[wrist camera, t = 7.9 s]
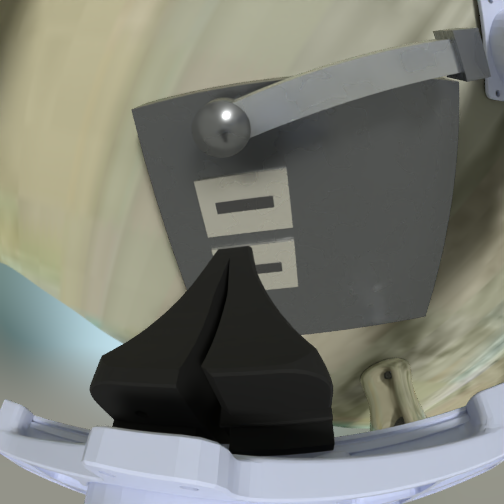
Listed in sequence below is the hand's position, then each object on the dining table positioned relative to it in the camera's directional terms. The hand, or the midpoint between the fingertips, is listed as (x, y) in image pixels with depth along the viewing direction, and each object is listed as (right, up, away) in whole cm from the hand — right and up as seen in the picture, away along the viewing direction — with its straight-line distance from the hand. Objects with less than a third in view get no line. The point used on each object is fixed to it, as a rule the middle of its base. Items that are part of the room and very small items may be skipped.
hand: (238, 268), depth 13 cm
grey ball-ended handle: (+5, +8, -1) cm, 9 cm away
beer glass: (+16, -13, +19) cm, 28 cm away
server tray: (+5, +3, +8) cm, 10 cm away
